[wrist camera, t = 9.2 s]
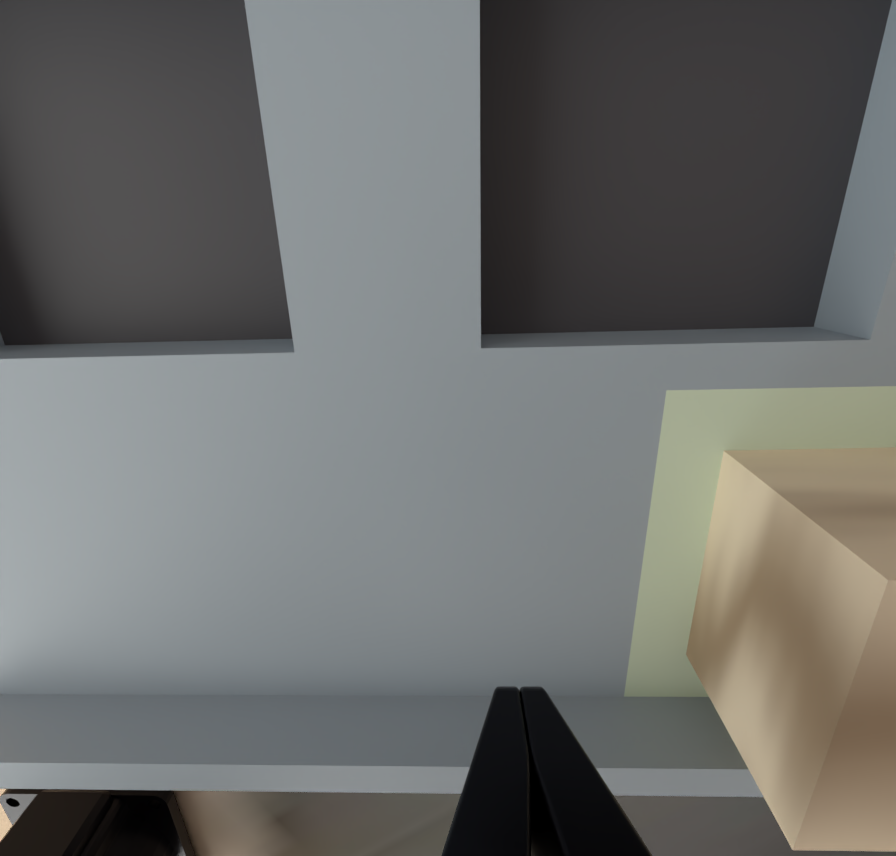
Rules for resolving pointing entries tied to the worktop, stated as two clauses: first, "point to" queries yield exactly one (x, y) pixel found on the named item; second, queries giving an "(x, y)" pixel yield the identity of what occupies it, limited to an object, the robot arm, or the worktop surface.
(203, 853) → the worktop surface
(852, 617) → the maple block
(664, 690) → the board
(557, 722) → the robot arm
